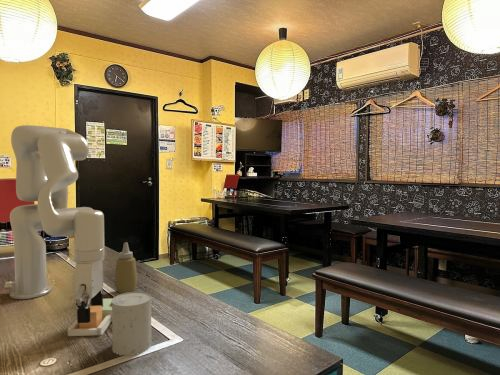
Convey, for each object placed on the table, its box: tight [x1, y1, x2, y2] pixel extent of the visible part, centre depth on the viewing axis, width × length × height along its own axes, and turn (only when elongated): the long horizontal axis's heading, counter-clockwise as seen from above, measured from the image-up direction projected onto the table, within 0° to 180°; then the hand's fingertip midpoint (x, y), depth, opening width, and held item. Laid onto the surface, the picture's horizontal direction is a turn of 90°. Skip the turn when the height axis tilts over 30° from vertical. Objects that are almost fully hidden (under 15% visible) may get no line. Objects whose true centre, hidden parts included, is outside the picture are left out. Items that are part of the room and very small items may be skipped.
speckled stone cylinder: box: [111, 291, 153, 356], centre depth 88 cm, size 10×10×12 cm
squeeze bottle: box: [114, 242, 139, 295], centre depth 126 cm, size 8×8×18 cm
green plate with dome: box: [67, 298, 113, 337], centre depth 102 cm, size 15×18×4 cm
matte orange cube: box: [79, 305, 102, 329], centre depth 98 cm, size 5×5×6 cm
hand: (90, 314), depth 97 cm, fingers open, 9 cm apart
